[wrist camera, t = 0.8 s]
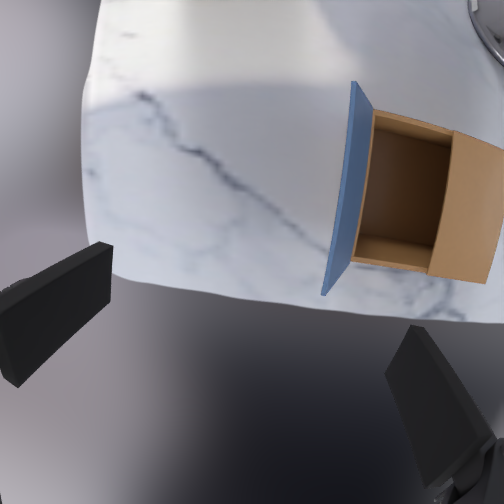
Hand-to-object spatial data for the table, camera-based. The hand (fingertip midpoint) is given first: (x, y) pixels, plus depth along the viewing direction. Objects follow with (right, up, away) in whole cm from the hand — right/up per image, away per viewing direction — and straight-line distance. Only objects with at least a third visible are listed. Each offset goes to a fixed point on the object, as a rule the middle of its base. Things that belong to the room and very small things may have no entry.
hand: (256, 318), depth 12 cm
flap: (+7, +7, +7) cm, 12 cm away
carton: (+18, +10, +19) cm, 28 cm away
